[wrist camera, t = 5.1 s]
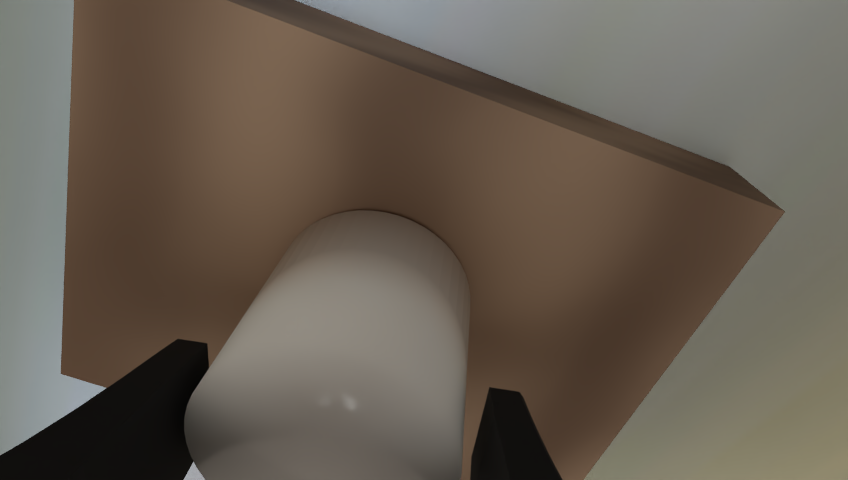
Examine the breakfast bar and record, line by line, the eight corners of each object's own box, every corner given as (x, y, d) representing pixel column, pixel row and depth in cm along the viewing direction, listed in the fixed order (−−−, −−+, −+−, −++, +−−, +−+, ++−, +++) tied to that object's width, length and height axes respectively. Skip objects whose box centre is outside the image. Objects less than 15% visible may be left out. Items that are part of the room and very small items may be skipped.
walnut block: (720, 160, 15) (785, 211, 12) (538, 438, 21) (551, 522, 18) (164, -54, 14) (76, -57, 11) (125, 307, 19) (60, 373, 16)
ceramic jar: (489, 232, 13) (490, 383, 8) (450, 386, 15) (435, 565, 11) (282, 192, 13) (175, 320, 8) (276, 351, 15) (191, 515, 11)
